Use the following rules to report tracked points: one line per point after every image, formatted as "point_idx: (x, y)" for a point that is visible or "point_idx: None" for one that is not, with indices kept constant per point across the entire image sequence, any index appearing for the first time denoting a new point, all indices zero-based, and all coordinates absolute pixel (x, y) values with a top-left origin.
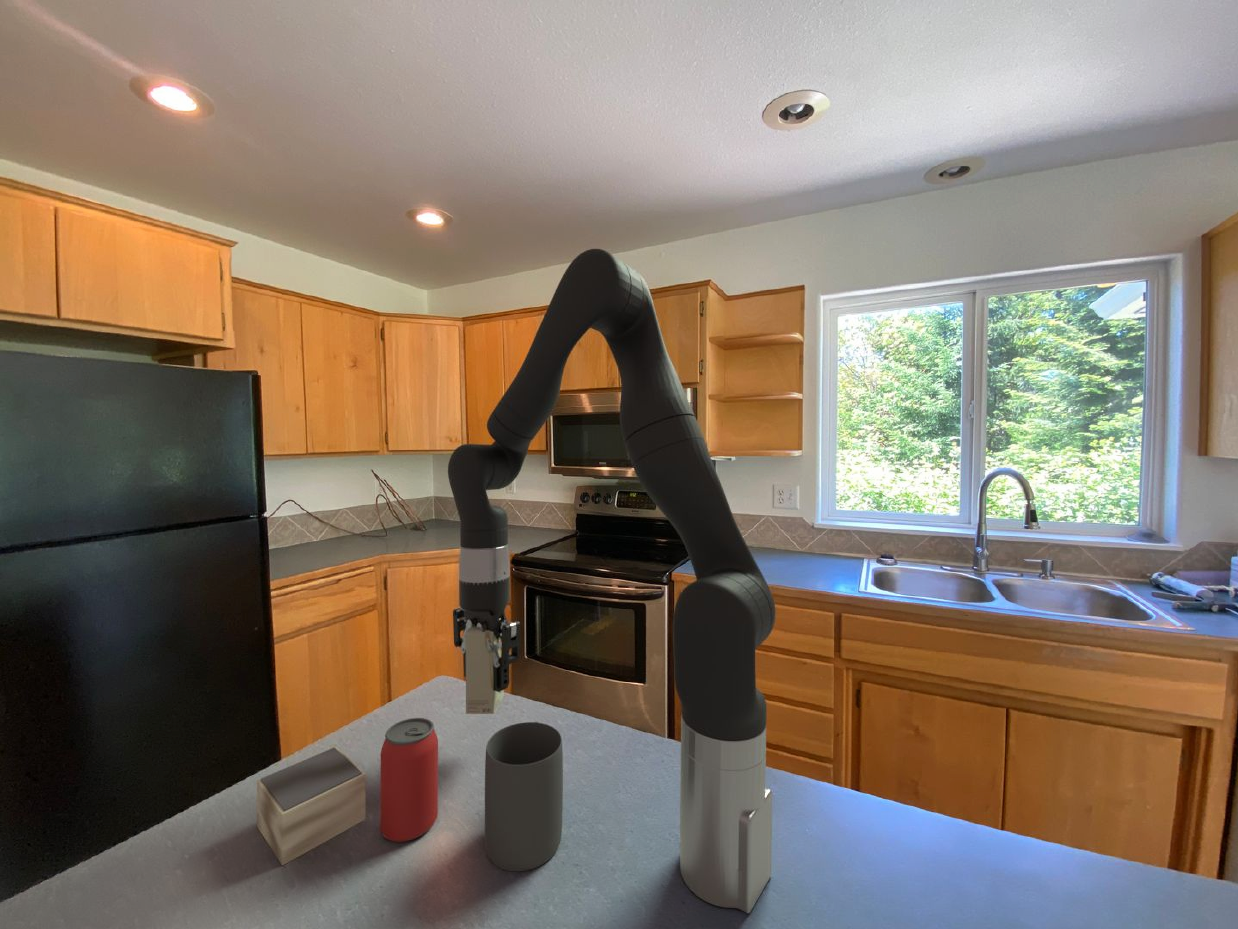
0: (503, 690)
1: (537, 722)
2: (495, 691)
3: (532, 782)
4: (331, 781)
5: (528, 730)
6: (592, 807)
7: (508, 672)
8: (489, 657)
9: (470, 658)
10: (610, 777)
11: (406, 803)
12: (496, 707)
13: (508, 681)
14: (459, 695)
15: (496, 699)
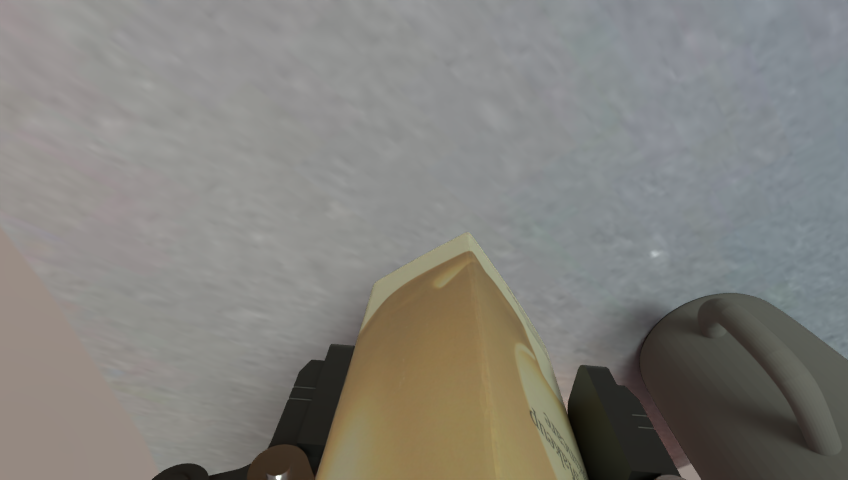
0: (477, 252)
1: (814, 393)
2: (556, 390)
3: None
4: None
5: (839, 476)
6: (819, 216)
7: (661, 449)
8: None
9: None
10: (839, 94)
11: None
12: (535, 332)
13: (638, 408)
14: (32, 24)
15: (542, 353)
